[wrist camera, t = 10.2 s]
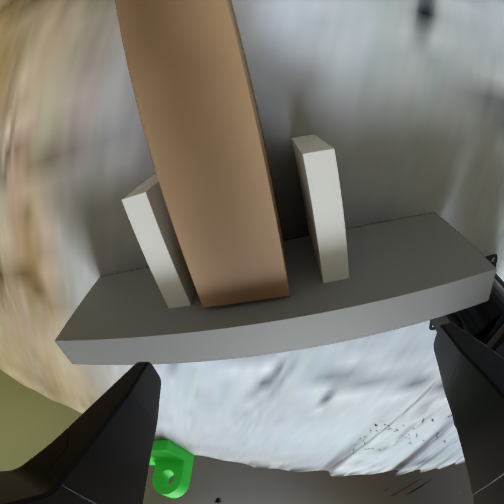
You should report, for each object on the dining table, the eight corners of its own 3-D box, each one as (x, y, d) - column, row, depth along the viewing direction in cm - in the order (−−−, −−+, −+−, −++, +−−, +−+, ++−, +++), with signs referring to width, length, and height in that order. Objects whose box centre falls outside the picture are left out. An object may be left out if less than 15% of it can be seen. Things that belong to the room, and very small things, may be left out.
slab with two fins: (431, 121, 14) (509, 144, 8) (433, 239, 17) (488, 300, 11) (67, 204, 17) (2, 253, 11) (111, 297, 21) (72, 363, 15)
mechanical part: (169, 438, 34) (158, 487, 27) (194, 454, 36) (187, 499, 29) (115, 439, 37) (102, 479, 30) (139, 454, 39) (130, 492, 32)
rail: (225, -20, 11) (207, -69, 5) (283, 235, 18) (289, 295, 13) (157, 1, 11) (110, -34, 6) (219, 246, 19) (203, 307, 13)
